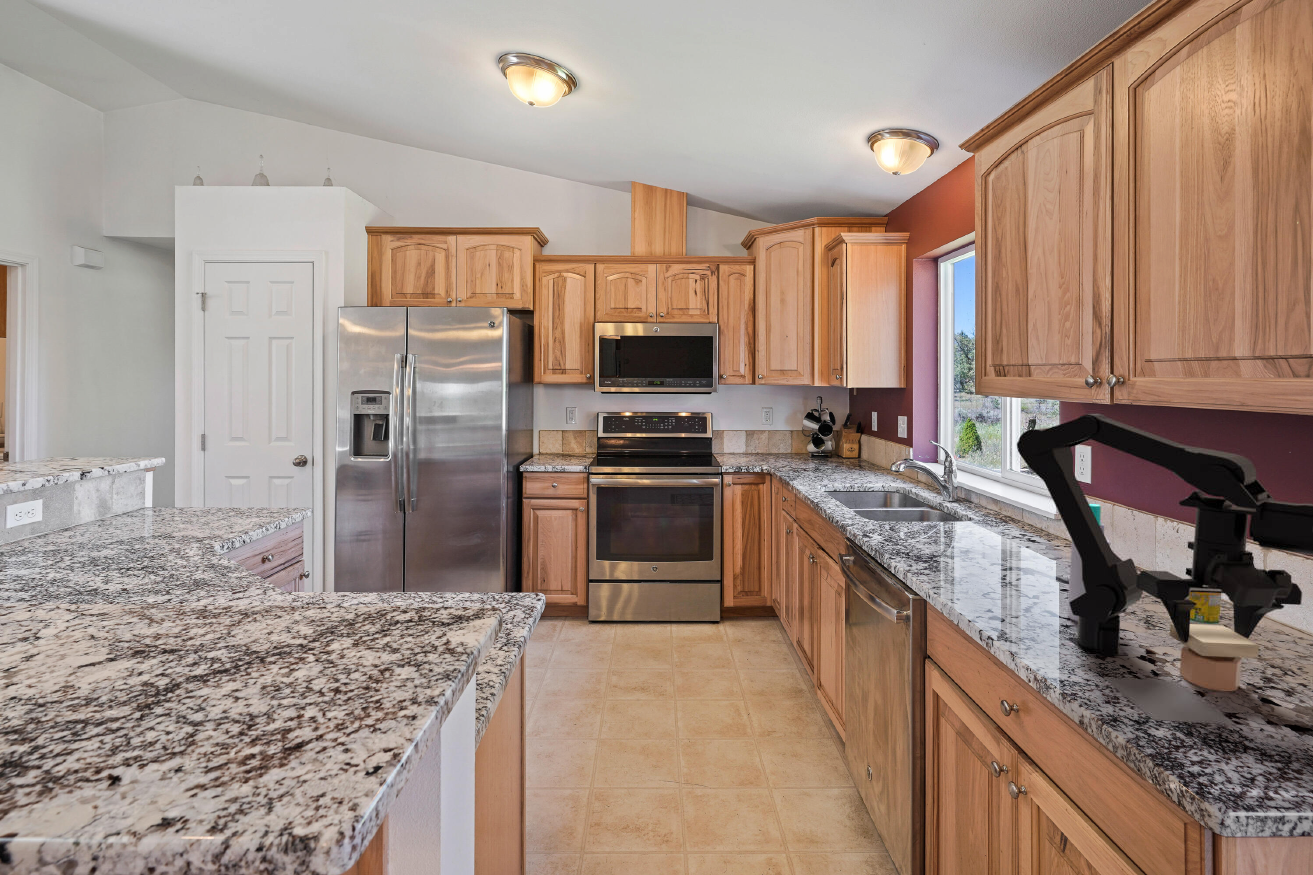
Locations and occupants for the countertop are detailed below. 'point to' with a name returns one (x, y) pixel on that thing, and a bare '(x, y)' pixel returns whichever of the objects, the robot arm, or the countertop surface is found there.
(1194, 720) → the mat
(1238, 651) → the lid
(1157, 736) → the countertop surface
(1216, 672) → the bowl
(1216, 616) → the supplement bottle
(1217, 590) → the robot arm
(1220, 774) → the countertop surface
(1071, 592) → the spray bottle
